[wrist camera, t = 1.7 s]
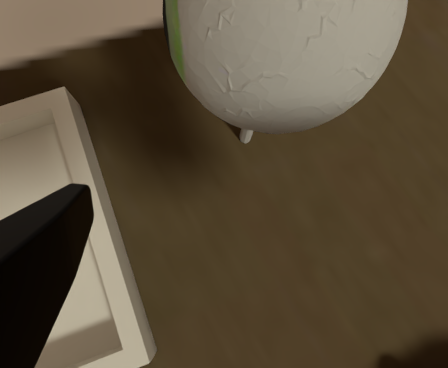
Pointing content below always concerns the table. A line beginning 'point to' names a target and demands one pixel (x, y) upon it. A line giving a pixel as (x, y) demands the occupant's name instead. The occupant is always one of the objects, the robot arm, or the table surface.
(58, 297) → the robot arm
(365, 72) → the lollipop
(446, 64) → the table surface
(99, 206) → the tray
